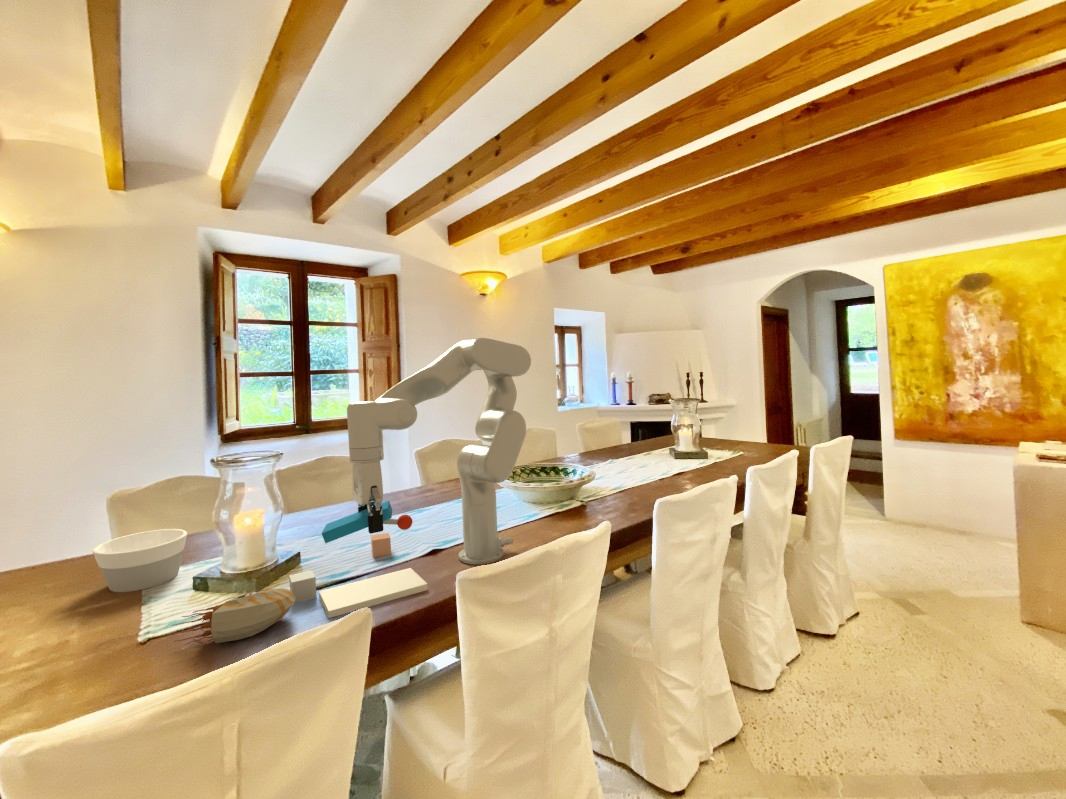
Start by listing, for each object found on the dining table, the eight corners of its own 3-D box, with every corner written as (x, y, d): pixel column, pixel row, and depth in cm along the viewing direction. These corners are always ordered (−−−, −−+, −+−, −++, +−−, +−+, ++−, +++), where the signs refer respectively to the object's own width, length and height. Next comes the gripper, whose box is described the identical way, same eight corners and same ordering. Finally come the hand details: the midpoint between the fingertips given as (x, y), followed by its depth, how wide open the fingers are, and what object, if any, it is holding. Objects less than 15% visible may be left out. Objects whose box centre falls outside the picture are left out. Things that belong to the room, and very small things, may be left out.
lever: (333, 563, 107) (414, 530, 111) (321, 533, 106) (404, 501, 110) (337, 551, 114) (414, 521, 118) (326, 524, 113) (404, 494, 117)
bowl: (137, 599, 114) (134, 555, 114) (74, 594, 118) (71, 552, 117) (207, 567, 133) (204, 529, 132) (151, 564, 137) (148, 527, 136)
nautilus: (158, 667, 87) (192, 630, 101) (288, 638, 93) (302, 607, 107) (153, 624, 87) (188, 593, 101) (283, 598, 92) (298, 572, 107)
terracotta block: (389, 549, 143) (388, 532, 142) (391, 554, 138) (390, 537, 138) (371, 552, 141) (370, 535, 140) (373, 557, 136) (372, 540, 136)
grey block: (313, 590, 116) (312, 570, 116) (316, 597, 112) (315, 576, 112) (290, 595, 113) (289, 575, 113) (292, 603, 109) (291, 582, 109)
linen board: (410, 573, 124) (410, 567, 124) (427, 589, 114) (427, 583, 114) (319, 597, 112) (318, 591, 112) (329, 618, 102) (328, 611, 102)
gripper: (342, 451, 116) (346, 521, 117) (358, 461, 102) (363, 540, 103) (373, 448, 121) (377, 515, 121) (393, 456, 106) (397, 533, 107)
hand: (370, 526), depth 112 cm, fingers closed on lever, 8 cm apart
